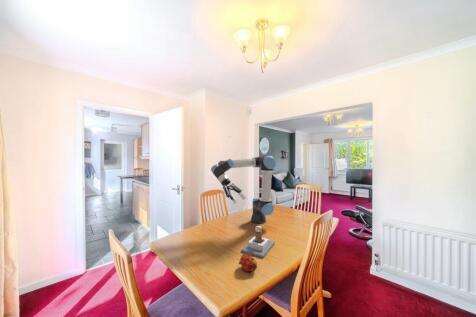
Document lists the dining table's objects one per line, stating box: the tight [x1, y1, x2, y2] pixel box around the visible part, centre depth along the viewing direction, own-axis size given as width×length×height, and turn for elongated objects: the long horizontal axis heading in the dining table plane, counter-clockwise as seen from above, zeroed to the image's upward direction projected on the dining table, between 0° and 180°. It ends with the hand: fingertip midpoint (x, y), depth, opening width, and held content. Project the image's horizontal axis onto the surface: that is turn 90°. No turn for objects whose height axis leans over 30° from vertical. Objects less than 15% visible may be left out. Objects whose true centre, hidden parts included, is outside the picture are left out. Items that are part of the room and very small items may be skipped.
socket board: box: [240, 235, 276, 259], centre depth 130 cm, size 22×16×5 cm
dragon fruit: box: [238, 253, 258, 273], centre depth 105 cm, size 8×8×12 cm
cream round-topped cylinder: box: [254, 225, 263, 244], centre depth 130 cm, size 4×4×13 cm
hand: (240, 201), depth 144 cm, fingers open, 13 cm apart
